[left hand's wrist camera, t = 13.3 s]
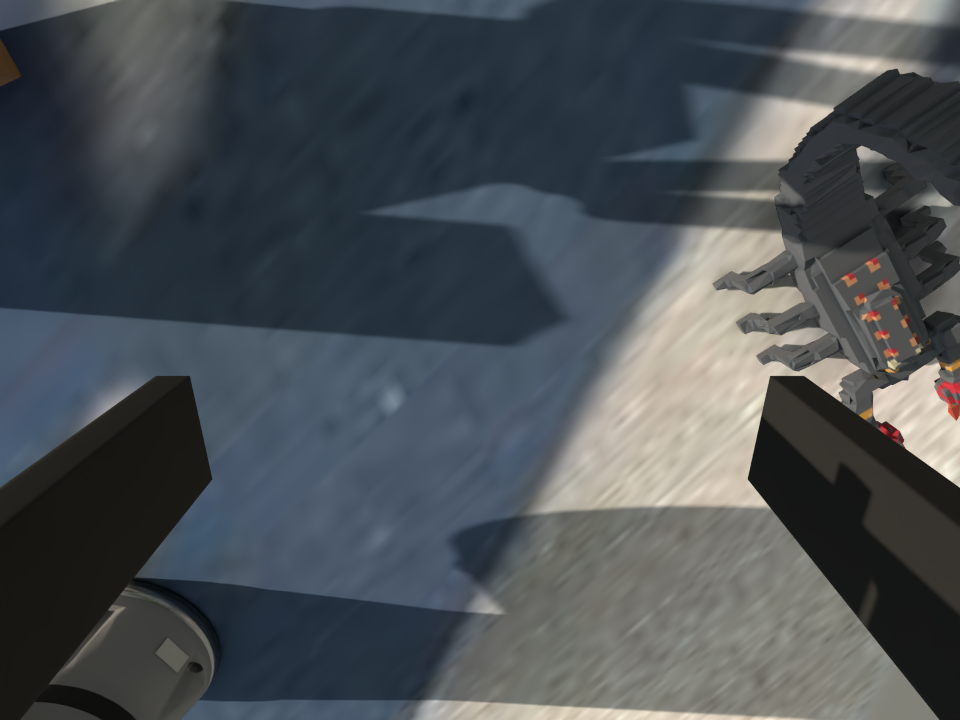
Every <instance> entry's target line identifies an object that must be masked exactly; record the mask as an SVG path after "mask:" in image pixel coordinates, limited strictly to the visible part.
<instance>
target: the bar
mask: <svg viewBox="0 0 960 720" xmlns="http://www.w3.org/2000/svg"><path fill="white" fill-rule="evenodd" d="M19 77H21V74H20V72H19V71H18V69H17V67H16V65H15V63H14V62H13V60H12V58H11V56H10V55H9V53H8V51H7V49H6V48H5V46H4V44H3V42H2V41H1V39H0V86H2V85H4V84H6V83H8V82H11V81H13V80H15V79H17V78H19Z"/></svg>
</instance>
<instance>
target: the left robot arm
mask: <svg viewBox="0 0 960 720" xmlns="http://www.w3.org/2000/svg"><path fill="white" fill-rule="evenodd" d="M211 480H212V476H211V471H210V466H209V462H208V457H207V453H206V448H205V444H204V439H203V434H202V430H201V425H200V421H199V416H198V411H197V407H196V402H195V398H194V393H193V389H192V384H191V379H190V376H155V377H154V378H153V379H151V380H150V381H148V382H147V383H146V384H144V385H143V386H141V387H140V388H139V389H137V390H136V391H134V392H133V393H132V394H130V395H129V396H127V397H126V398H125V399H123V400H122V401H120V402H119V403H118V404H116V405H115V406H114V407H112V408H111V409H109V410H108V411H107V412H105V413H104V414H102V415H101V416H100V417H98V418H97V419H95V420H94V421H93V422H91V423H90V424H88V425H87V426H86V427H84V428H83V429H81V430H80V431H79V432H77V433H76V434H74V435H73V436H72V437H70V438H69V439H68V440H66V441H65V442H63V443H62V444H61V445H59V446H58V447H56V448H55V449H54V450H52V451H51V452H49V453H48V454H47V455H45V456H44V457H42V458H41V459H40V460H38V461H37V462H35V463H34V464H33V465H31V466H30V467H29V468H27V469H26V470H24V471H23V472H22V473H20V474H19V475H17V476H16V477H15V478H13V479H12V480H10V481H9V482H8V483H6V484H5V485H3V486H2V487H1V488H0V720H181V719H182V718H183V717H184V716H185V714H186V713H187V712H188V711H189V710H190V709H191V708H192V707H193V706H194V705H195V704H196V703H197V702H198V700H199V699H200V698H201V697H202V696H203V694H204V693H205V692H206V690H207V688H208V687H209V685H210V683H211V681H212V679H213V677H214V675H215V673H216V671H217V668H218V666H219V661H220V646H219V642H218V639H217V636H216V634H215V632H214V630H213V628H212V626H211V625H210V624H209V622H208V621H207V619H206V618H205V617H204V616H203V615H202V614H201V613H200V612H199V611H198V610H197V609H196V608H195V607H193V606H192V605H191V604H190V603H188V602H187V601H185V600H184V599H182V598H181V597H179V596H177V595H175V594H173V593H171V592H169V591H167V590H165V589H162V588H160V587H157V586H154V585H151V584H147V583H144V582H139V581H133V580H132V579H133V578H134V577H135V575H136V574H137V573H138V572H139V570H140V569H141V568H142V567H143V565H144V564H145V563H146V562H147V560H148V559H149V558H150V557H151V555H152V554H153V553H154V552H155V550H156V549H157V548H158V547H159V545H160V544H161V543H162V542H163V540H164V539H165V538H166V537H167V535H168V534H169V533H170V532H171V530H172V529H173V528H174V527H175V525H176V524H177V523H178V522H179V520H180V519H181V518H182V517H183V515H184V514H185V513H186V512H187V510H188V509H189V508H190V507H191V505H192V504H193V503H194V502H195V500H196V499H197V498H198V497H199V495H200V494H201V493H202V491H203V490H204V489H205V488H206V486H207V485H208V484H209V483H210V481H211ZM748 480H749V481H750V483H751V484H752V485H753V486H754V488H755V489H756V490H757V491H758V493H759V494H760V495H761V497H762V498H763V499H764V500H765V502H766V503H767V504H768V505H769V507H770V508H771V509H772V510H773V512H774V513H775V514H776V515H777V517H778V518H779V519H780V520H781V522H782V523H783V524H784V525H785V527H786V528H787V529H788V530H789V532H790V533H791V534H792V535H793V537H794V538H795V539H796V540H797V542H798V543H799V544H800V545H801V547H802V548H803V549H804V550H805V552H806V553H807V554H808V555H809V557H810V558H811V559H812V560H813V562H814V563H815V564H816V565H817V567H818V568H819V569H820V570H821V572H822V573H823V574H824V576H825V577H826V578H827V579H828V581H829V582H830V583H831V584H832V586H833V587H834V588H835V589H836V591H837V592H838V593H839V594H840V596H841V597H842V598H843V599H844V601H845V602H846V603H847V604H848V606H849V607H850V608H851V609H852V611H853V612H854V613H855V614H856V616H857V617H858V618H859V619H860V621H861V622H862V623H863V624H864V626H865V627H866V628H867V629H868V631H869V632H870V633H871V634H872V636H873V637H874V638H875V639H876V641H877V642H878V643H879V644H880V646H881V647H882V648H883V649H884V651H885V652H886V653H887V654H888V656H889V657H890V658H891V660H892V661H893V662H894V663H895V665H896V666H897V667H898V668H899V670H900V671H901V672H902V673H903V675H904V676H905V677H906V678H907V680H908V681H909V682H910V683H911V685H912V686H913V687H914V688H915V690H916V691H917V692H918V693H919V695H920V696H921V697H922V698H923V700H924V701H925V702H926V703H927V705H928V706H929V707H930V708H931V710H932V711H933V712H934V713H935V715H936V716H937V717H938V718H939V720H960V488H959V487H958V486H957V485H955V484H954V483H952V482H951V481H950V480H948V479H947V478H945V477H944V476H943V475H941V474H940V473H938V472H937V471H936V470H934V469H933V468H931V467H930V466H929V465H927V464H926V463H925V462H923V461H922V460H920V459H919V458H918V457H916V456H915V455H913V454H912V453H911V452H909V451H908V450H906V449H905V448H904V447H902V446H901V445H899V444H898V443H897V442H895V441H894V440H892V439H891V438H890V437H888V436H887V435H886V434H884V433H883V432H881V431H880V430H879V429H877V428H876V427H874V426H873V425H872V424H870V423H869V422H867V421H866V420H865V419H863V418H862V417H860V416H859V415H858V414H856V413H855V412H853V411H852V410H851V409H849V408H848V407H846V406H845V405H844V404H842V403H841V402H840V401H838V400H837V399H835V398H834V397H833V396H831V395H830V394H828V393H827V392H826V391H824V390H823V389H821V388H820V387H819V386H817V385H816V384H814V383H813V382H812V381H810V380H809V379H807V378H806V377H805V376H770V379H769V384H768V389H767V393H766V398H765V402H764V407H763V411H762V416H761V421H760V425H759V430H758V434H757V439H756V444H755V448H754V453H753V457H752V462H751V466H750V471H749V476H748Z"/></svg>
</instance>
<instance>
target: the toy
mask: <svg viewBox="0 0 960 720" xmlns="http://www.w3.org/2000/svg"><path fill="white" fill-rule="evenodd" d="M806 134H807V136H805V137H804V138H803V139H802V140H803V141H802V142H800V143H799V144H798V145H799V146H798V147H796V148H795V151H796V152H795V153H794V154H793V157H792V158H790V159H789V163H788V164H787V165H785V166H784V167H782V168H781V169H779V172H780V173H779V174H778V175H779V177H780V179H781V181H782V182H780V184H781V186H780V190H781V191H780V193H779V194H778V195H777V196H775V197H774V199H775V205H776V209H777V213H778V217H779V220H780V223H781V226H782V238H783V241H784V245H785V248H786V250H785V251H784V252H783V253H781V254H780V255H778V256H777V257H775V258H774V259H773V260H771V261H770V262H768V263H767V264H765V265H763V266H761V267H759V268H758V269H756V270H754V271H752V272H751V273H749V274H747V275H739V274H737V273H734V272H732V271H731V272H730V273H728V274H727V275H725V276H724V277H722V278H721V279H719V280H718V281H716V282H714V283H713V285H714V287H715V289H716V290H721V289H726V288H729V287H732V286H734V287H736V288H739V289H741V290H743V291H745V292H747V293H749V294H753V295H754V294H755V293H757V292H758V291H760V290H761V289H763V288H764V287H766V286H767V285H769V284H772V285H773V284H775V283H776V282H777V281H779V280H780V279H782V278H783V277H785V276H786V275H787V274H789V273H790V274H791V276H792V278H793V280H794V282H795V284H796V286H797V288H798V290H799V291H800V292H801V293H802V294H803V297H804V299H805V303H799V304H798V305H796V306H794V307H792V308H790V309H789V310H787V311H785V312H783V313H781V314H780V315H778V316H776V317H774V318H772V319H771V318H770V317H768V318H767V319H766V320H765V319H764V318H763V317H761V316H760V315H759V314H756V313H750V314H748V315H747V316H745V317H743V318H742V319H740V320H739V321H737V322H736V323H737V325H738V327H739V328H740V330H741V331H742V332H743V333H744V334H747V333H749V332H752V331H754V330H756V329H764V330H765V331H767V332H768V333H769V334H776V335H783V334H785V333H786V332H788V331H790V330H791V329H793V328H795V327H797V326H798V325H800V324H802V323H803V322H805V321H807V320H808V319H811V318H814V319H815V321H816V323H817V325H818V327H820V328H822V329H823V330H825V331H827V332H829V333H828V334H826V335H825V336H823V337H821V338H820V339H818V340H816V341H814V342H811V343H809V344H807V345H805V346H803V347H801V348H799V349H797V350H796V351H794V352H791V351H787V350H783V349H781V348H780V347H778V346H776V345H773V346H771V347H770V348H768V349H767V350H765V351H763V352H762V353H760V354H758V355H757V358H758V360H759V361H760V362H761V363H762V364H763V365H764V364H766V363H769V362H771V361H773V360H778V361H780V362H782V363H783V364H785V365H786V366H788V367H789V368H791V369H792V370H794V371H800V370H802V369H805V368H807V367H809V366H811V365H813V364H815V363H817V362H819V361H821V360H823V359H825V358H827V357H829V356H831V355H833V354H834V353H836V352H838V351H839V352H840V353H842V354H844V355H845V356H846V358H847V359H848V360H849V361H850V362H851V363H853V364H854V365H856V366H858V367H859V368H860V369H859V370H857V371H855V372H853V373H851V374H849V375H847V376H845V377H844V378H842V382H841V383H840V386H841V387H842V388H843V390H842V391H841V392H839V395H840V397H841V399H842V402H841V403H842V404H844V405H845V406H846V407H848V408H849V409H851V410H852V411H853V412H855V413H856V414H858V415H859V416H860V417H862V418H863V419H865V420H866V421H867V422H869V423H870V424H872V425H873V426H874V427H876V428H877V429H879V430H880V431H881V432H883V433H884V434H886V435H887V436H888V437H890V438H891V439H892V440H894V441H895V442H897V443H898V444H899V445H901V446H902V447H904V445H903V444H902V443H903V442H904V439H903V437H902V435H901V433H900V431H899V430H897V429H896V428H895V427H893V426H892V425H890V424H889V423H888V422H886V421H885V422H884V423H882V424H881V423H880V422H878V421H876V420H875V418H874V416H873V393H872V391H874V390H875V389H877V388H881V389H884V388H886V387H888V386H890V385H894V384H896V383H898V382H900V381H902V380H908V378H909V375H910V374H912V373H913V372H915V371H916V370H918V369H919V368H921V367H922V366H924V365H925V364H927V363H928V362H930V361H931V360H933V359H934V358H935V357H937V359H938V362H939V364H940V366H941V369H940V370H939V372H938V373H939V375H940V378H939V379H937V380H935V381H934V382H935V383H936V385H935V386H934V387H935V389H936V391H937V393H938V395H939V397H940V399H941V400H943V401H945V402H947V403H948V405H949V406H948V413H949V414H950V415H951V416H952V417H953V418H954V419H955V420H956V421H957V419H958V417H959V415H960V316H958V315H954V314H952V313H946V312H940V311H936V312H935V313H933V314H932V315H930V316H929V317H927V318H926V319H924V320H922V319H923V318H925V317H926V315H925V313H924V311H923V309H922V307H921V304H920V302H919V300H921V299H922V298H924V297H925V296H927V295H928V294H930V293H931V292H933V291H934V290H936V289H937V288H938V287H940V286H941V285H942V284H944V283H945V282H946V281H948V280H949V279H950V278H952V277H953V276H954V275H955V274H956V273H957V272H958V271H959V270H960V264H959V257H958V256H954V255H950V254H945V253H944V252H945V251H946V248H945V247H944V245H943V244H942V243H940V242H938V241H935V242H934V243H932V244H931V245H929V246H928V247H926V248H925V249H923V248H924V247H925V246H926V245H928V244H930V243H931V242H933V241H934V240H936V239H937V238H938V237H939V236H940V234H941V233H942V232H943V230H944V229H945V228H946V227H947V226H946V224H945V222H944V219H942V218H936V217H930V216H929V215H930V214H931V211H930V207H929V206H925V205H920V206H918V207H917V208H915V209H913V210H912V211H910V212H909V213H907V214H906V215H904V216H902V217H901V218H899V219H900V221H901V223H902V225H903V226H907V227H913V229H912V230H910V231H909V232H908V233H906V234H905V235H903V236H902V237H901V238H899V239H898V240H896V238H895V236H894V234H893V232H892V230H891V228H890V226H889V224H888V222H887V220H886V218H885V217H884V216H885V215H886V214H888V213H889V212H891V211H892V210H894V209H895V208H897V207H898V206H900V205H901V204H902V203H904V202H905V201H907V200H908V199H910V198H911V197H912V196H914V195H915V194H917V193H918V192H919V191H921V190H922V189H923V188H925V187H926V186H927V185H926V183H925V181H927V182H931V183H932V184H933V185H934V187H935V188H936V189H937V191H938V192H939V193H940V194H941V195H942V196H943V197H944V198H946V199H947V200H948V201H949V202H951V203H952V204H953V205H958V206H960V83H959V81H957V82H949V83H937V82H933V81H932V79H931V78H928V77H922V76H920V75H918V74H916V73H914V72H912V73H906V74H901V75H900V73H899V71H898V69H893V70H887V71H886V72H884V73H883V74H882V75H880V76H879V77H877V78H876V79H874V80H873V81H872V82H870V83H869V84H867V85H866V86H864V87H863V88H862V89H860V90H859V91H857V92H856V93H854V94H853V95H852V96H850V97H849V98H847V99H846V100H845V101H843V102H842V103H840V104H839V105H837V106H836V107H835V108H834V111H833V112H832V113H830V114H829V115H828V116H827V117H825V118H824V119H823V120H821V121H820V122H818V123H817V124H815V125H814V126H813V127H811V128H810V131H809V132H808V133H806ZM861 145H862V146H864V147H867V148H870V150H873V151H877V152H879V153H881V154H883V155H884V156H886V157H887V158H889V159H892V160H895V161H898V162H896V163H895V164H893V165H892V166H890V167H889V168H887V169H886V170H884V173H885V175H886V177H887V179H886V181H888V182H889V183H891V184H893V186H891V187H890V188H889V189H888V190H887V191H886V192H884V193H883V194H881V195H880V196H878V197H877V198H875V199H874V197H873V196H871V195H868V194H866V193H864V187H863V181H862V178H861V174H860V165H859V161H858V160H860V159H859V157H858V155H857V151H856V148H858V147H860V146H861ZM922 249H923V250H922ZM921 250H922V251H921ZM918 254H919V256H920V257H921V259H922V260H923V261H925V262H928V263H931V264H933V265H932V266H930V267H929V268H927V269H926V270H925V271H923V272H922V273H920V274H919V275H917V276H915V274H914V272H913V270H912V268H911V267H910V265H909V263H908V261H907V260H909V259H911V258H913V257H915V256H917V255H918ZM904 448H905V447H904ZM905 449H906V448H905Z"/></svg>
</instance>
